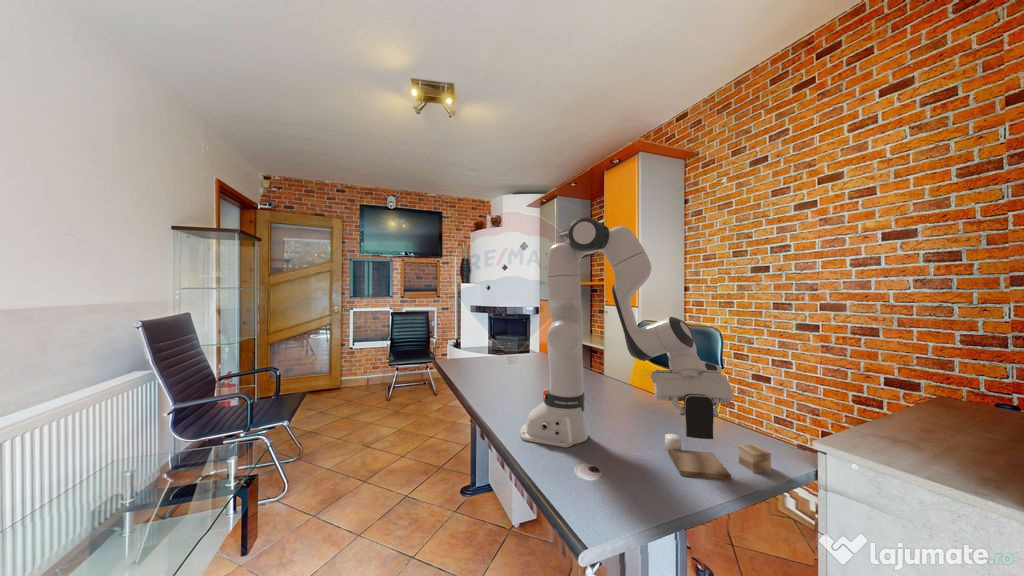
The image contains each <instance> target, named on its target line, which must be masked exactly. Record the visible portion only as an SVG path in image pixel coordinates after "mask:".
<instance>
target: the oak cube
mask: <svg viewBox="0 0 1024 576" xmlns="http://www.w3.org/2000/svg"><path fill="white" fill-rule="evenodd" d="M771 454H772V453H771V452H769V451H768V450H765V449H764V448H762V447H761V446H759V445H757V444H740V445H738V463H739V464H740V465H741V466H743V467H744V468H745V469H747V470H749V471H750V472H751V471H752V472H751V473H753V472H756V473H771V469H772V468H771V467H772V465H771V464H772V463H771V462H772V460H771V459H772V455H771Z"/></svg>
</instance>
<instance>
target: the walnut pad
mask: <svg viewBox="0 0 1024 576" xmlns="http://www.w3.org/2000/svg"><path fill="white" fill-rule="evenodd" d="M667 453H668V456H669V457H670V459H671V461H672V462H673V465H674V467H675V469H676V470H677V471H678V474H679V476H687V477H698V478H709V479H716V480H717V479H718V480H730V481H731V480H732V475H731V473H730V472H729V470H727V469H726V467H725V466H724V464H722V462H721V461H720V460H719V458H718V457H717V456H716V455H715V454H714V453H713V452H709V451H698V450H685V449H681V450H674V449H668V451H667Z"/></svg>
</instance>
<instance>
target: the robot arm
mask: <svg viewBox="0 0 1024 576" xmlns="http://www.w3.org/2000/svg"><path fill="white" fill-rule="evenodd" d="M567 231H568V232H567V240H566V241H565V242H558V243H555V244H553V245H552V246H551V247H550V248H549V249H548V252H547V258H546V259H547V260H546V286H547V287H546V289H547V292H546V293H547V303H548V308H549V310H548V311H549V315H550V326H549V328H548V330H547V334H546V338H547V340H546V341H547V342H546V343H547V355H548V356H547V357H548V365H549V366H548V367H549V389H548V388H544V390H543V392H542V394H543V398H542V399H543V402H541V403H540V404H538V405H537V406H536V407H533V409H532V410H530V411H529V414H528V416H527V418H526V422H524V424H522V426H521V427H520V430H519V436H520V439H521V440H523V441H526V442H533V443H538V444H544V445H548V446H549V445H550V446H554V447H561V448H569V447H571V446H573V445H576V444H581V443H583V442H585V441H587V440H588V439H589V433H588V431H587V430H588V429H587V425H586V419H585V408H586V406H585V405H586V397H585V393H584V364H583V363H584V362H583V361H584V360H583V337H584V320H583V319H584V318H583V307H582V306H583V304H582V289H581V288H582V287H581V270H580V268H581V267H580V266H581V265H580V264H581V263H580V262H581V259H585V258H587V257H589V256H592V255H594V254H596V253H598V252H600V253H602V254H603V255H604V256H605V257H606V259H607V260H608V263H609V265H610V267H611V269H612V271H613V274H614V284H613V285H612V286H611V292H612V297H613V301H614V304H615V308H616V312H617V315H618V318H619V321H620V324H621V327H622V331H623V335H624V339H625V344H626V347H627V351H628V353H629V355H630V356H631V357H633V358H635V359H636V360H639V361H642V362H646V361H648V360H650V359H653V358H655V357H657V356H660V355H663V354H667V357H668V367H669V370H668V369H662V370H661V369H657V370H656V369H655V370H654V371H652V372H651V374H650V376H651V377H650V378H651V381H652V382H653V383H654V384H653V385H654V386H653V387H654V391H653V392H654V397H655V398H656V399H657V400H658V401H665V402H666V401H667V402H671V405H672V407H673V408H675V409H676V411H677V414H678V416H685V411H684V406H681V405H680V404H679V403H678V402H684V397H685V395H687V394H702V395H706V396H708V397H710V398H711V399H712V401H713V411H714V417H713V418H718V417H719V415H720V413H719V410H718V409H719V405H720V404H730V403H731V402H732V401H733V400H734V397H735V394H734V392H733V391H734V390H733V389H732V386H731V384H730V383H729V380H728V379H727V377H726V376H725V375H724V374H722V371H723V369H722V367H721V366H720V365H718V364H716V363H715V364H714V363H711V362H707V361H704V360H701V359H700V357H699V356H698V354H697V351H698V350H697V346H696V343H695V339H694V336H693V332H692V330H691V329H690V327H689V325H688V324H687V323H686V322H685V321H684V320H682V319H680V318H677V317H673V316H669V317H666V318H665V317H664V318H663V319H659V320H658V321H655V322H652V323H650V324H648V325H645V326H643V327H639V326H638V324H637V320H636V318H635V313H634V311H633V308H632V299H633V296H634V295H635V294H636V292H637V291H638V290H639V289H640V288H641V287H642V286H643V285H644V284H645V283H646V281H647V280H648V279H649V277H650V275H651V272H652V263H651V261H650V258H649V256H648V254H647V252H646V250H645V248H644V247H643V245H642V244H641V242H640V240H639V239H638V238H637V236H636V235H635V234H634V232H633V231H632V230H631V229H630V228H629V227H627V226H624V225H619V226H614V227H612V228H610V229H609V227H608V226H607V225H604V224H603V223H602V222H600V221H598V220H597V219H594V218H593V217H587V216H584V217H580V218H578V219H576V220H574V221H573V222H572V223H571V224H570V226H569V228H568V230H567Z"/></svg>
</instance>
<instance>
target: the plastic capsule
mask: <svg viewBox="0 0 1024 576" xmlns="http://www.w3.org/2000/svg"><path fill="white" fill-rule="evenodd" d="M668 449H674V450H682V437H681V436H680V435H678V434H676V433H675V434H674V433H666V434H665V435H664V450H665V451H667V452H668Z"/></svg>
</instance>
